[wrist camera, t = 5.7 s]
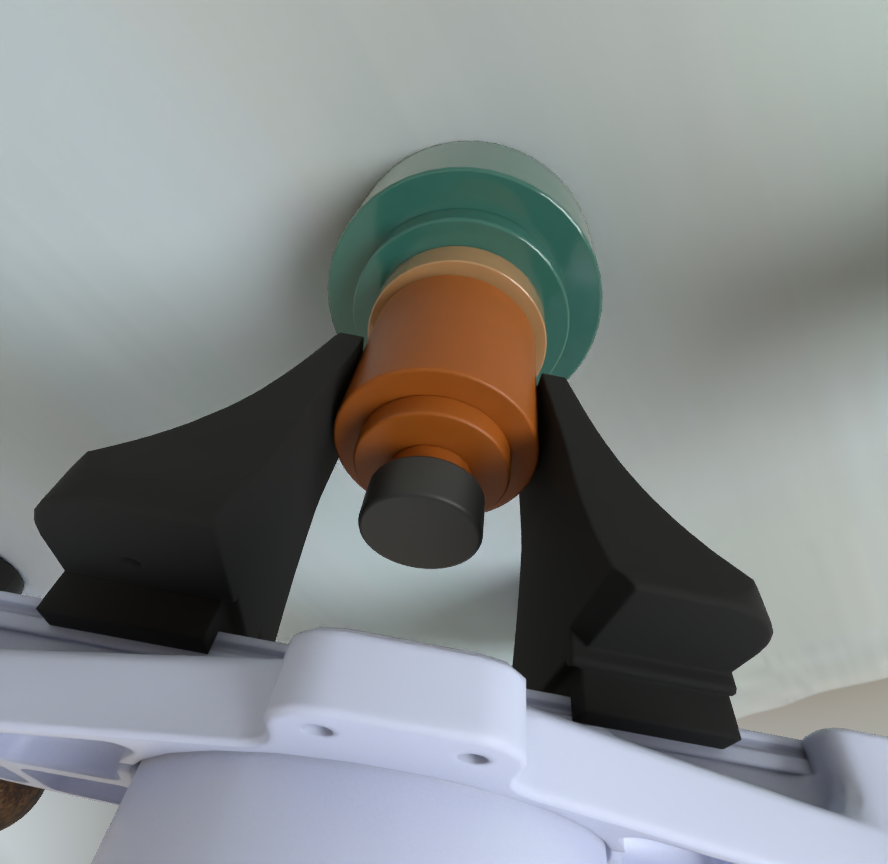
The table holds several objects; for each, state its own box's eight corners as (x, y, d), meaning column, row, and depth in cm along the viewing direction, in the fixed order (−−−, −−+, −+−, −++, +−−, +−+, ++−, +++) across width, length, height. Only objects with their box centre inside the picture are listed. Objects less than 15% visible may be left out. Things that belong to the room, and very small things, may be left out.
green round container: (548, 390, 21) (554, 474, 17) (347, 350, 21) (312, 426, 17) (634, 172, 15) (668, 230, 12) (355, 112, 15) (304, 153, 11)
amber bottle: (511, 425, 16) (508, 614, 11) (369, 396, 16) (303, 575, 11) (557, 293, 13) (578, 479, 8) (379, 257, 12) (294, 423, 8)
